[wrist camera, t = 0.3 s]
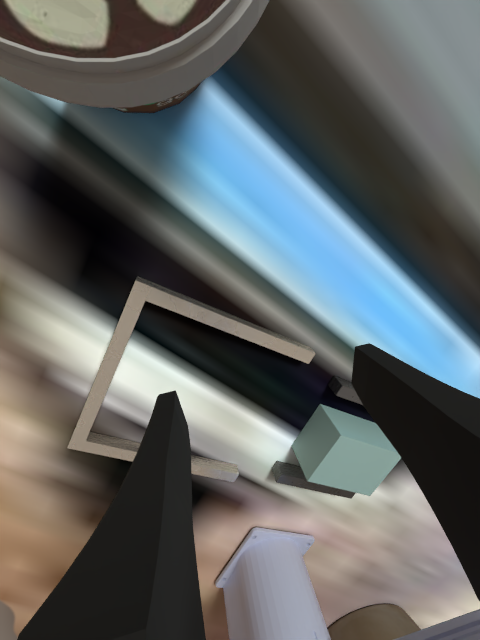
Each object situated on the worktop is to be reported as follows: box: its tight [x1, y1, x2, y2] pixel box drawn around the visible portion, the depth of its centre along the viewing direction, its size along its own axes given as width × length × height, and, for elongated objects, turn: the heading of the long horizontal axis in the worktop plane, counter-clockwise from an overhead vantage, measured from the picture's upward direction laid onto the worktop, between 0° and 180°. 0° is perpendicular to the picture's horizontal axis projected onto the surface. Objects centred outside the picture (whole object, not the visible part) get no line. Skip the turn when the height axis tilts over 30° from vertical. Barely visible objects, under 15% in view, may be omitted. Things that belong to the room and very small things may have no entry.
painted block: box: [292, 404, 401, 496], centre depth 27 cm, size 5×7×4 cm
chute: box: [67, 276, 363, 498], centre depth 25 cm, size 14×26×2 cm, turn 62°
